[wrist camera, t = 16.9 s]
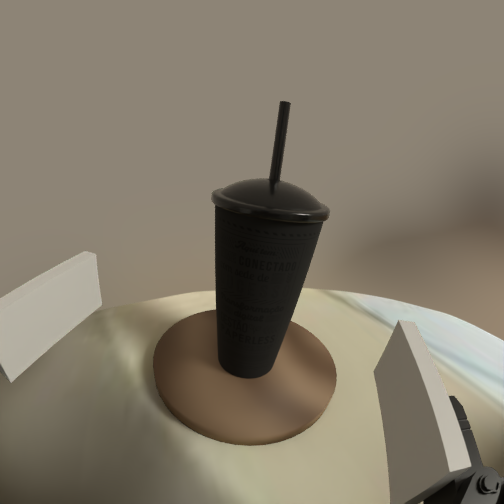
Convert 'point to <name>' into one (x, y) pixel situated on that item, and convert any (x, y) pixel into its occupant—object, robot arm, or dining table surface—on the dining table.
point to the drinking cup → (261, 261)
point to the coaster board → (242, 385)
